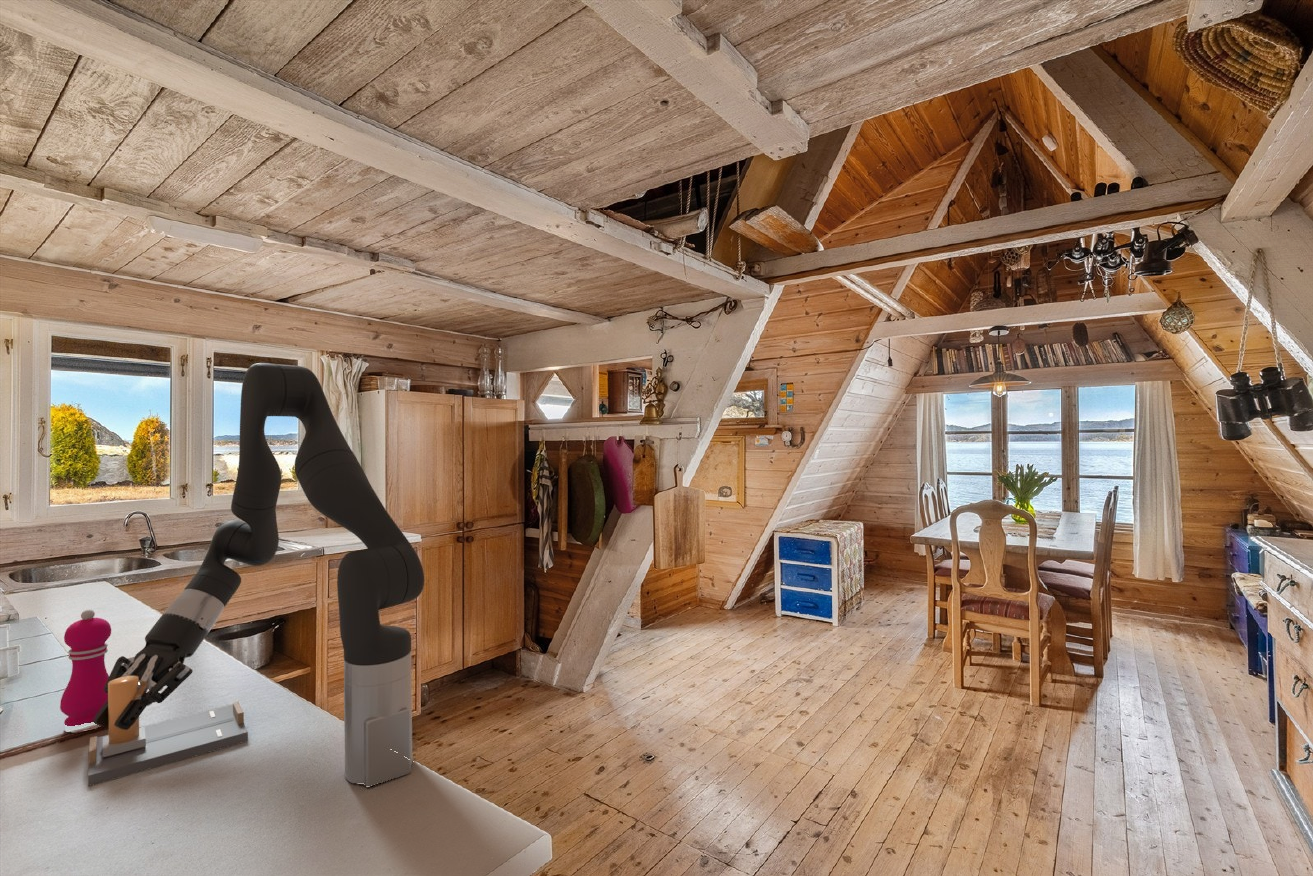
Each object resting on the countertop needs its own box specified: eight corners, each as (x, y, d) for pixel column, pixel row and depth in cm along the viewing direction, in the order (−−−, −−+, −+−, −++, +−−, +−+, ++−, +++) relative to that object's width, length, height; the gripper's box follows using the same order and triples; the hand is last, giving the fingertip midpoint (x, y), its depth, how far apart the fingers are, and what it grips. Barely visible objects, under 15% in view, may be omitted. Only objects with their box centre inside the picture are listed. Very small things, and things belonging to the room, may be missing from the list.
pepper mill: (82, 737, 102) (81, 617, 102) (48, 733, 104) (46, 614, 104) (128, 717, 110) (126, 605, 109) (95, 713, 111) (93, 602, 111)
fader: (145, 746, 96) (144, 680, 96) (102, 757, 93) (101, 689, 92) (144, 734, 100) (143, 671, 99) (102, 745, 96) (102, 679, 96)
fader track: (247, 741, 101) (247, 721, 101) (88, 786, 88) (88, 763, 88) (235, 712, 111) (234, 693, 111) (91, 748, 99) (90, 728, 99)
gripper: (138, 609, 105) (54, 712, 93) (204, 614, 101) (126, 722, 90) (169, 630, 110) (94, 730, 98) (234, 636, 107) (164, 740, 95)
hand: (110, 725), depth 94 cm, fingers closed on fader, 3 cm apart
